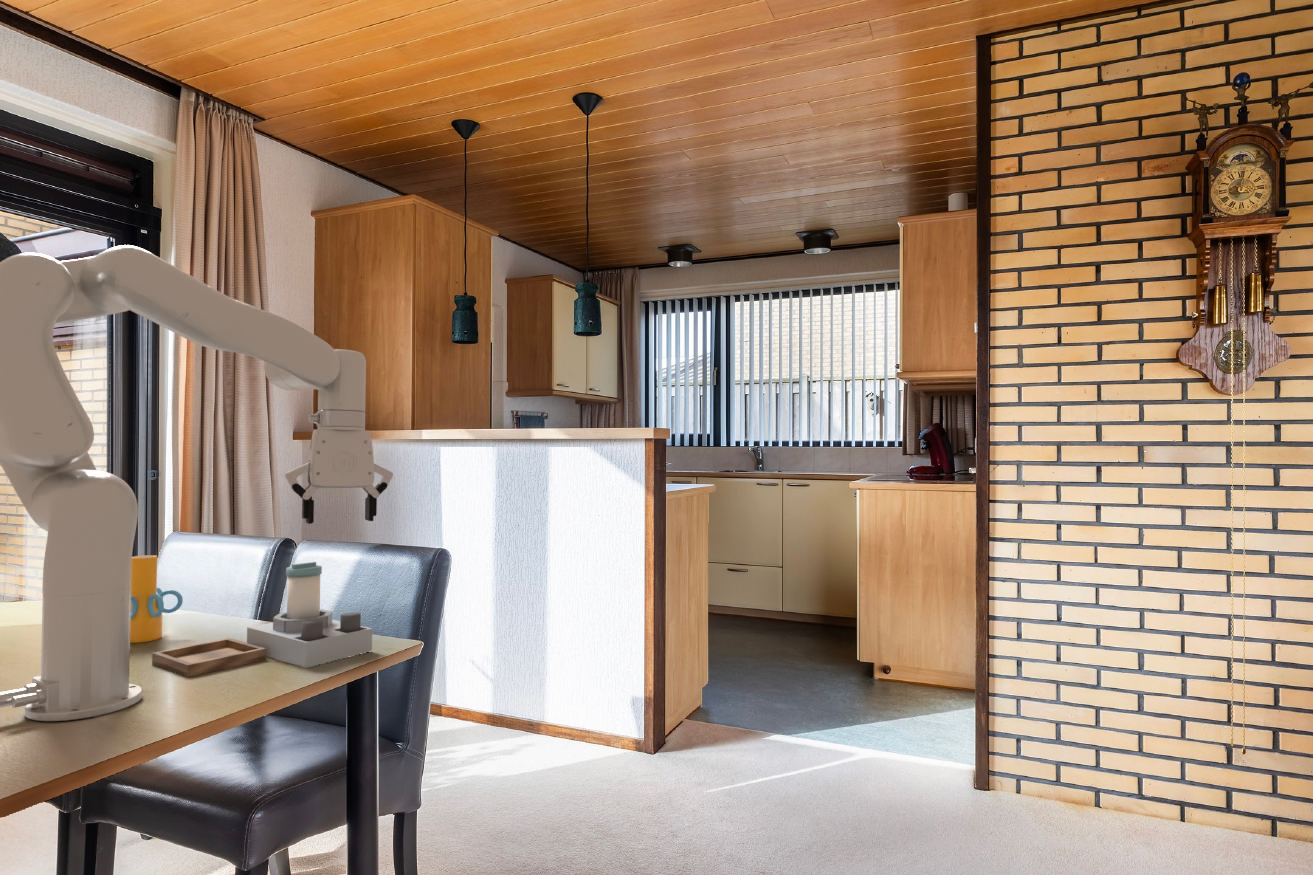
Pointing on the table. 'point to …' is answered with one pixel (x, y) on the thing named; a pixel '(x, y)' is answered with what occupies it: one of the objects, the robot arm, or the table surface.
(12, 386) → the robot arm
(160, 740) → the table surface
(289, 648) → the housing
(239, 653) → the tray
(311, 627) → the plunger left
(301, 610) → the cylinder
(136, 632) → the cylinder
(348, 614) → the plunger right
